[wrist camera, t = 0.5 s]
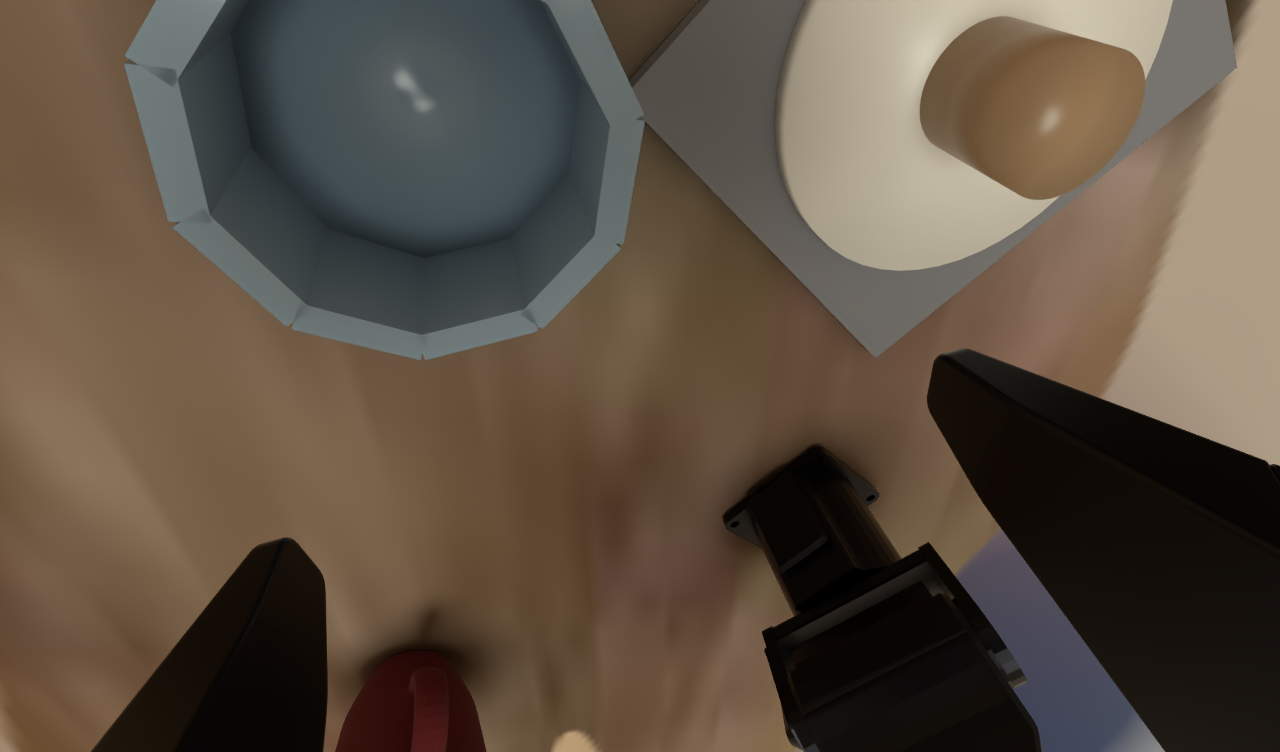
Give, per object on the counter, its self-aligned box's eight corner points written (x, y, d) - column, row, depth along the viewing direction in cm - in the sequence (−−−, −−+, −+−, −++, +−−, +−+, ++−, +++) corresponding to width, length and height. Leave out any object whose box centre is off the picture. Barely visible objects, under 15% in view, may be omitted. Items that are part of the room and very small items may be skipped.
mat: (1221, 63, 24) (1236, 67, 23) (868, 350, 28) (875, 358, 28) (1119, -473, 14) (1141, -484, 14) (618, 92, 19) (622, 98, 19)
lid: (1188, 69, 23) (1331, 110, 19) (888, 317, 27) (959, 390, 23) (1093, -337, 15) (1301, -397, 11) (692, 95, 19) (753, 151, 15)
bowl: (670, 84, 19) (727, 140, 15) (455, 319, 22) (459, 413, 19) (360, -262, 13) (331, -305, 10) (129, 123, 17) (39, 203, 13)
